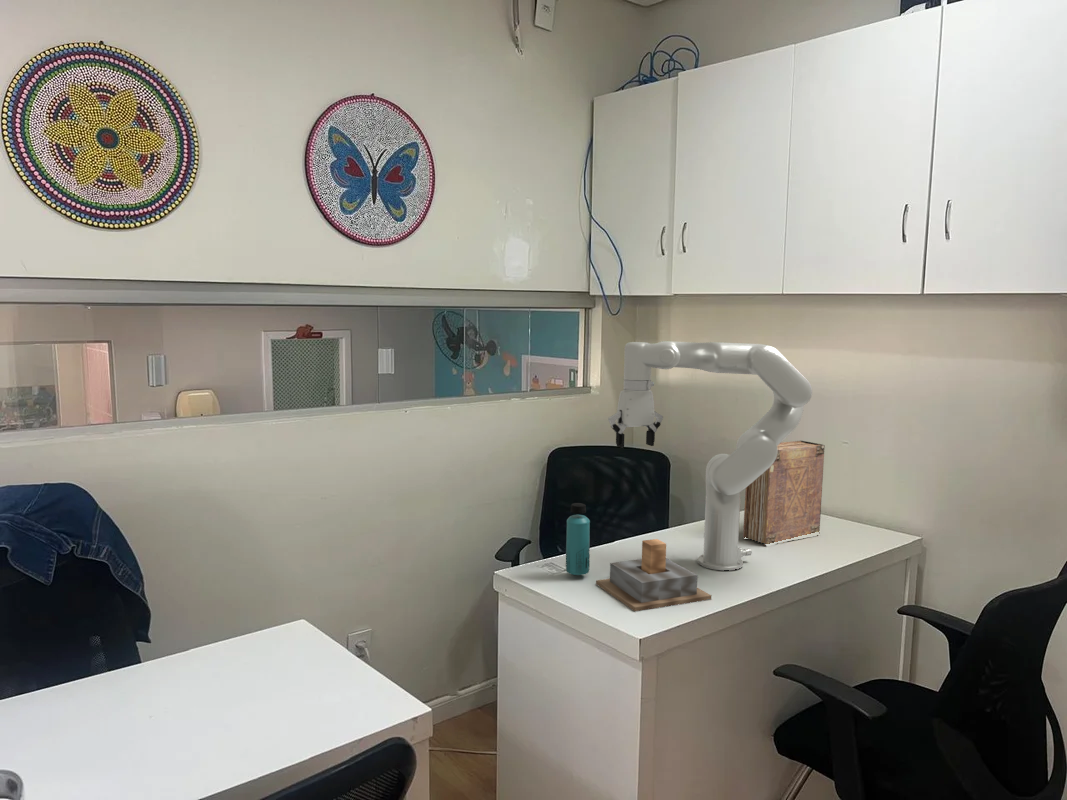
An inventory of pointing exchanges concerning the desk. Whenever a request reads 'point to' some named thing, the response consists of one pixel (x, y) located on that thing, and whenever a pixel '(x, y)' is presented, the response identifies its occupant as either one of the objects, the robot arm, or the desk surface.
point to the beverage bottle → (578, 541)
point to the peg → (653, 556)
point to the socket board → (651, 585)
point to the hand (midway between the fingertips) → (635, 446)
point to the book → (786, 495)
